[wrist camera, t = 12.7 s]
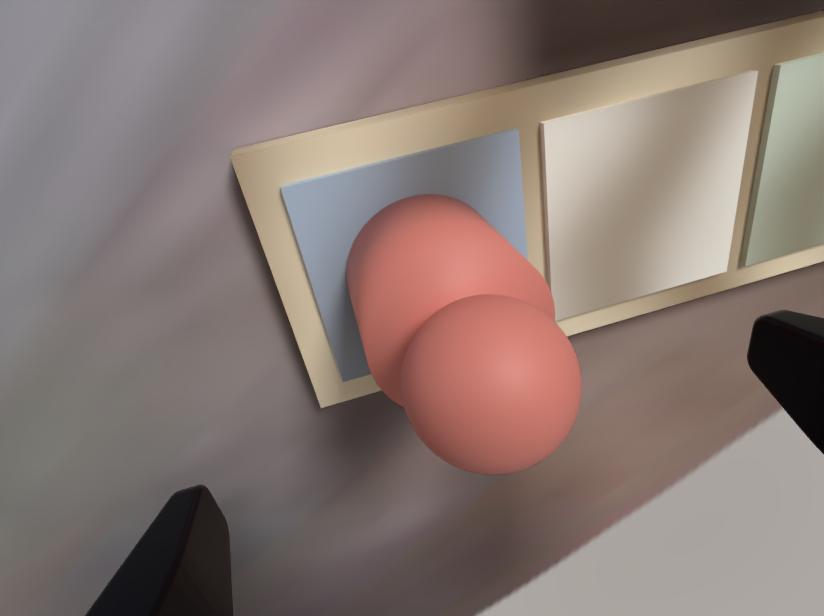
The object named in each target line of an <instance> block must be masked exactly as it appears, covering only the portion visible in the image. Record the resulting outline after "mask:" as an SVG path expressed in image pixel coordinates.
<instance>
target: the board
mask: <svg viewBox="0 0 824 616" xmlns="http://www.w3.org/2000/svg"><path fill="white" fill-rule="evenodd" d="M230 159H231V161H232V164H233V167H234V170H235V172H236V175H237V178H238V181H239V183H240V186H241V189H242V192H243V194H244V197H245V200H246V203H247V205H248V208H249V211H250V214H251V216H252V219H253V222H254V225H255V227H256V230H257V233H258V236H259V238H260V241H261V244H262V247H263V249H264V252H265V255H266V258H267V260H268V263H269V266H270V269H271V271H272V274H273V277H274V280H275V282H276V285H277V288H278V291H279V293H280V296H281V299H282V302H283V304H284V307H285V310H286V313H287V315H288V318H289V321H290V324H291V326H292V329H293V332H294V335H295V338H296V340H297V343H298V346H299V349H300V351H301V354H302V357H303V360H304V362H305V365H306V368H307V371H308V373H309V376H310V379H311V382H312V384H313V387H314V390H315V393H316V395H317V398H318V401H319V404H320V406H321V408H324V407H327V406H330V405H334V404H337V403H341V402H344V401H348V400H351V399H354V398H358V397H361V396H365V395H368V394H371V393H375V392H378V391H382V390H381V389H380V388H379V386H378V385H377V383H376V382H375V380H374V378H373V376H372V374H371V371H370V369H369V366H368V362H367V358H366V355H365V351H364V347H363V343H362V340H361V336H360V332H359V328H358V324H357V321H356V317H355V313H354V309H353V306H352V302H351V298H350V294H349V290H348V286H347V279H346V268H347V260H348V256H349V252H350V249H351V247H352V244H353V242H354V240H355V238H356V237H357V235H358V233H359V232H360V230H361V229H362V228H363V226H364V225H365V224H366V223H367V222H368V221H369V220H370V219H371V218H372V217H373V216H374V215H375V214H376V213H378V212H379V211H380V210H382V209H383V208H385V207H386V206H388V205H390V204H392V203H394V202H396V201H398V200H401V199H404V198H407V197H410V196H416V195H422V194H437V195H444V196H449V197H452V198H455V199H458V200H460V201H462V202H464V203H466V204H468V205H469V206H471V207H472V208H473V209H475V210H476V211H477V212H478V213H479V214H480V215H481V216H482V217H483V218H484V219H485V220H486V221H487V222H488V223H489V224H490V225H492V226H493V227H494V228H495V229H496V230H497V231H498V232H499V233H500V234H501V235H502V236H503V237H504V238H505V239H506V240H507V241H508V242H509V243H510V244H511V245H512V246H513V247H514V248H515V249H516V250H517V251H518V252H519V253H520V254H521V255H522V256H523V257H525V258H526V259H527V260H528V261H529V262H530V263H531V264H532V265H533V266H534V267H535V268H536V269H537V270H538V271H539V273H540V274H541V275H542V276H543V278H544V279H545V281H546V282H547V284H548V286H549V288H550V291H551V293H552V297H553V300H554V306H555V323H556V324H557V325H558V326H559V327H560V328H561V329H562V331H563V332H564V333H565V335H566V336H570V335H573V334H577V333H580V332H583V331H587V330H590V329H594V328H597V327H601V326H604V325H607V324H611V323H614V322H618V321H621V320H625V319H628V318H631V317H635V316H638V315H642V314H645V313H648V312H652V311H655V310H659V309H662V308H666V307H669V306H672V305H676V304H679V303H683V302H686V301H689V300H693V299H696V298H700V297H703V296H707V295H710V294H713V293H717V292H720V291H724V290H727V289H731V288H734V287H737V286H741V285H744V284H748V283H751V282H754V281H758V280H761V279H765V278H768V277H772V276H775V275H778V274H782V273H785V272H789V271H792V270H795V269H799V268H802V267H806V266H809V265H813V264H816V263H819V262H823V261H824V10H822V11H818V12H813V13H809V14H805V15H801V16H797V17H792V18H788V19H784V20H780V21H775V22H771V23H767V24H763V25H758V26H754V27H750V28H746V29H741V30H737V31H733V32H729V33H725V34H720V35H716V36H712V37H708V38H703V39H699V40H695V41H691V42H686V43H682V44H678V45H674V46H669V47H665V48H661V49H657V50H652V51H648V52H644V53H640V54H636V55H631V56H627V57H623V58H619V59H614V60H610V61H606V62H602V63H597V64H593V65H589V66H585V67H580V68H576V69H572V70H568V71H564V72H559V73H555V74H551V75H547V76H542V77H538V78H534V79H530V80H525V81H521V82H517V83H513V84H508V85H504V86H500V87H496V88H492V89H487V90H483V91H479V92H475V93H470V94H466V95H462V96H458V97H453V98H449V99H445V100H441V101H436V102H432V103H428V104H424V105H420V106H415V107H411V108H407V109H403V110H398V111H394V112H390V113H386V114H381V115H377V116H373V117H369V118H364V119H360V120H356V121H352V122H348V123H343V124H339V125H335V126H331V127H326V128H322V129H318V130H314V131H309V132H305V133H301V134H297V135H292V136H288V137H284V138H280V139H276V140H271V141H267V142H263V143H259V144H254V145H250V146H246V147H242V148H237V149H233V151H232V154H231V157H230Z"/></svg>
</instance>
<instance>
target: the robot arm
mask: <svg viewBox="0 0 824 616" xmlns="http://www.w3.org/2000/svg"><path fill="white" fill-rule="evenodd" d="M747 360H748V364H749V366H750V368H751V370H752V371H753V373H754V374H755V375H756V376H757V377H758V379H759V380H760V381H761V382H762V383H763V384H764V386H765V387H766V388H767V389H768V390H769V392H770V393H771V394H772V395H773V396H774V398H775V399H776V400H777V401H778V402H779V404H780V405H781V406H782V407H783V408H784V409H785V411H786V412H787V413H788V414H789V415H790V417H791V418H792V419H793V420H794V421H795V423H796V424H797V425H798V426H799V427H800V428H801V430H802V431H803V432H804V433H805V434H806V436H807V437H808V438H809V439H810V440H811V441H812V442H813V443H814V445H815V446H816V447H817V448H818V449H819V450H820V451H821V452H822V453H823V454H824V318H820V317H815V316H811V315H806V314H802V313H797V312H792V311H788V310H779V311H775V312H771V313H768V314H765V315H762V316H760V317H758V318H757V319H756V320H755V322H754V324H753V328H752V333H751V338H750V343H749V348H748V353H747ZM85 616H233V602H232V582H231V562H230V542H229V530H228V525H227V522H226V519H225V517H224V515H223V514H222V512H221V510H220V508H219V507H218V505H217V503H216V501H215V500H214V498H213V496H212V494H211V493H210V491H209V490H208V488H207V487H206V486H204V485H197V486H193V487H190V488H187V489H183V490H180V491H178V492H176V493H174V494H173V495H172V496H171V497H170V499H169V500H168V502H167V503H166V504H165V506H164V507H163V509H162V510H161V511H160V513H159V514H158V515H157V517H156V518H155V520H154V521H153V522H152V524H151V525H150V527H149V528H148V529H147V531H146V532H145V533H144V535H143V536H142V538H141V539H140V540H139V542H138V543H137V544H136V546H135V547H134V549H133V550H132V551H131V553H130V554H129V556H128V557H127V558H126V560H125V561H124V562H123V564H122V565H121V567H120V568H119V569H118V571H117V572H116V574H115V575H114V576H113V578H112V579H111V580H110V582H109V583H108V585H107V586H106V587H105V589H104V590H103V592H102V593H101V594H100V596H99V597H98V598H97V600H96V601H95V603H94V604H93V605H92V607H91V608H90V610H89V611H88V612H87V614H86V615H85Z"/></svg>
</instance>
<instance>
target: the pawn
mask: <svg viewBox="0 0 824 616" xmlns="http://www.w3.org/2000/svg"><path fill="white" fill-rule="evenodd" d="M346 279H347V286H348V290H349V294H350V298H351V302H352V306H353V309H354V313H355V317H356V321H357V324H358V328H359V332H360V336H361V340H362V343H363V347H364V351H365V355H366V358H367V362H368V366H369V369H370V371H371V374H372V376H373V378H374V380H375V382H376V383H377V385H378V386H379V388H380V389H381V390H382V391H383V393H385V394H386V395H387V396H388V397H389V398H390V399H391V400H393V401H394V402H396V403H397V404H399V405H400V406H402V407H404V408H405V411H406V414H407V416H408V419H409V421H410V423H411V425H412V427H413V429H414V430H415V432H416V433H417V435H418V436H419V438H420V439H421V440H422V441H423V443H424V444H425V445H426V446H427V447H428V448H429V449H430V450H431V451H432V452H433V453H435V454H436V455H437V456H438V457H440V458H441V459H443V460H444V461H446V462H448V463H449V464H451V465H453V466H456V467H458V468H460V469H463V470H466V471H469V472H473V473H479V474H486V475H499V474H508V473H513V472H517V471H521V470H524V469H526V468H529V467H531V466H533V465H535V464H537V463H539V462H540V461H542V460H543V459H545V458H546V457H547V456H549V455H550V454H551V453H552V452H553V451H554V450H555V449H556V448H557V447H558V446H559V445H560V444H561V443H562V441H563V440H564V439H565V438H566V436H567V435H568V433H569V432H570V430H571V428H572V426H573V424H574V421H575V419H576V416H577V413H578V410H579V406H580V400H581V391H582V384H581V371H580V368H579V364H578V360H577V356H576V354H575V351H574V349H573V347H572V345H571V343H570V341H569V339H568V338H567V336H566V335H565V333H564V332H563V331H562V329H561V328H560V327H559V326H558V325H557V324H556V323H555V306H554V300H553V297H552V293H551V291H550V288H549V286H548V284H547V282H546V281H545V279H544V278H543V276H542V275H541V274H540V273H539V271H538V270H537V269H536V268H535V267H534V266H533V265H532V264H531V263H530V262H529V261H528V260H527V259H526V258H525V257H523V256H522V255H521V254H520V253H519V252H518V251H517V250H516V249H515V248H514V247H513V246H512V245H511V244H510V243H509V242H508V241H507V240H506V239H505V238H504V237H503V236H502V235H501V234H500V233H499V232H498V231H497V230H496V229H495V228H494V227H493V226H492V225H490V224H489V223H488V222H487V221H486V220H485V219H484V218H483V217H482V216H481V215H480V214H479V213H478V212H477V211H476V210H475V209H473V208H472V207H471V206H469V205H468V204H466V203H464V202H462V201H460V200H458V199H455V198H452V197H449V196H444V195H437V194H422V195H416V196H410V197H407V198H404V199H401V200H398V201H396V202H394V203H392V204H390V205H388V206H386V207H385V208H383V209H382V210H380V211H379V212H378V213H376V214H375V215H374V216H373V217H372V218H371V219H370V220H369V221H368V222H367V223H366V224H365V225H364V226H363V228H362V229H361V230H360V232H359V233H358V235H357V237H356V238H355V240H354V242H353V244H352V247H351V249H350V252H349V256H348V260H347V268H346Z"/></svg>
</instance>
